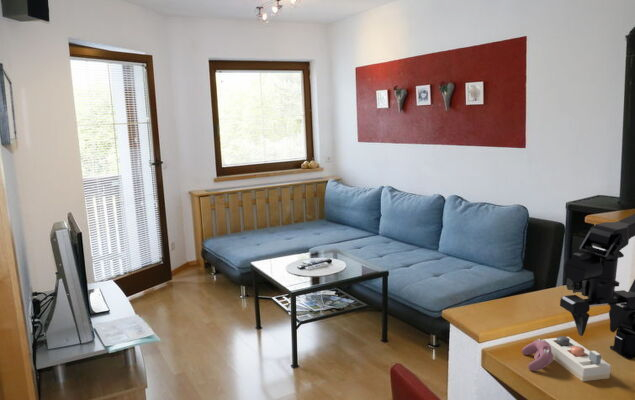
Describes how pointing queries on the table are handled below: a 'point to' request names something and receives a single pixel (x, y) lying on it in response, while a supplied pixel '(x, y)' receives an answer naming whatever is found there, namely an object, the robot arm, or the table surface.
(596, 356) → the slide switch
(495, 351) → the table surface
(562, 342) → the black button
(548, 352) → the video game controller
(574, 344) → the switch panel
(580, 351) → the salmon orange button
